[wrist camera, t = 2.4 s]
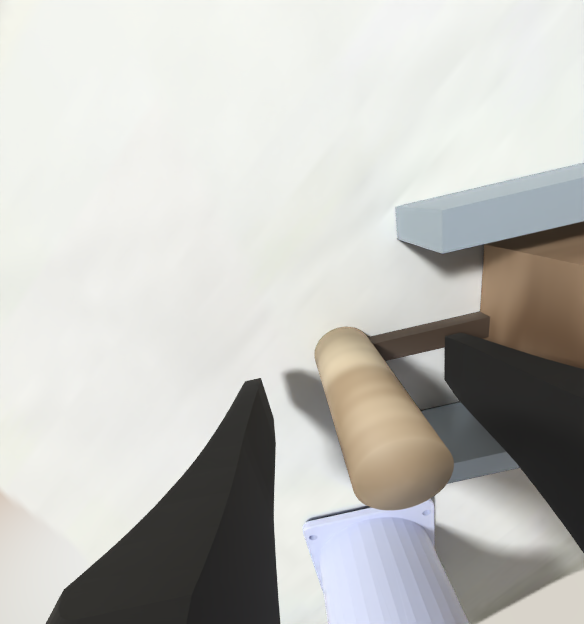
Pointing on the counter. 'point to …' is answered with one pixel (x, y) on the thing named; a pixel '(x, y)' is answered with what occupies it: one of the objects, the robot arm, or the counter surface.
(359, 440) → the block with knob handle
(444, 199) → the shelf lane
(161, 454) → the counter surface
